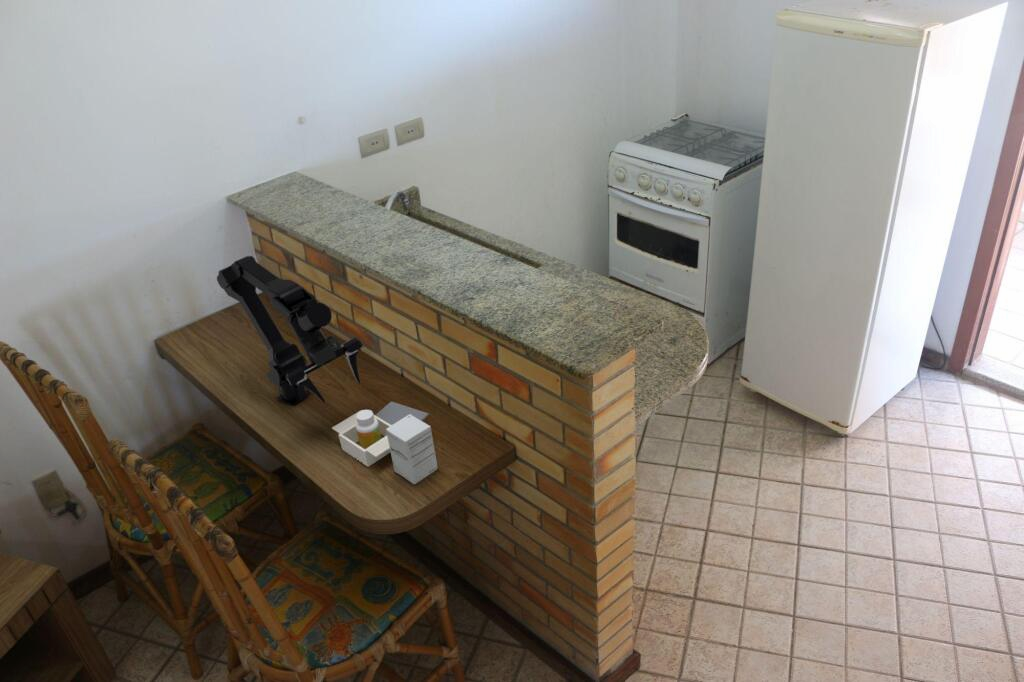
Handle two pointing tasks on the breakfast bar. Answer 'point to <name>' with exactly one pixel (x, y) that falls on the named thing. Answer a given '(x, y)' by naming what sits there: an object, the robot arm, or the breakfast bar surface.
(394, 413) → the mat
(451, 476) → the breakfast bar surface
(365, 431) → the supplement bottle
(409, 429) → the supplement box
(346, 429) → the carton
